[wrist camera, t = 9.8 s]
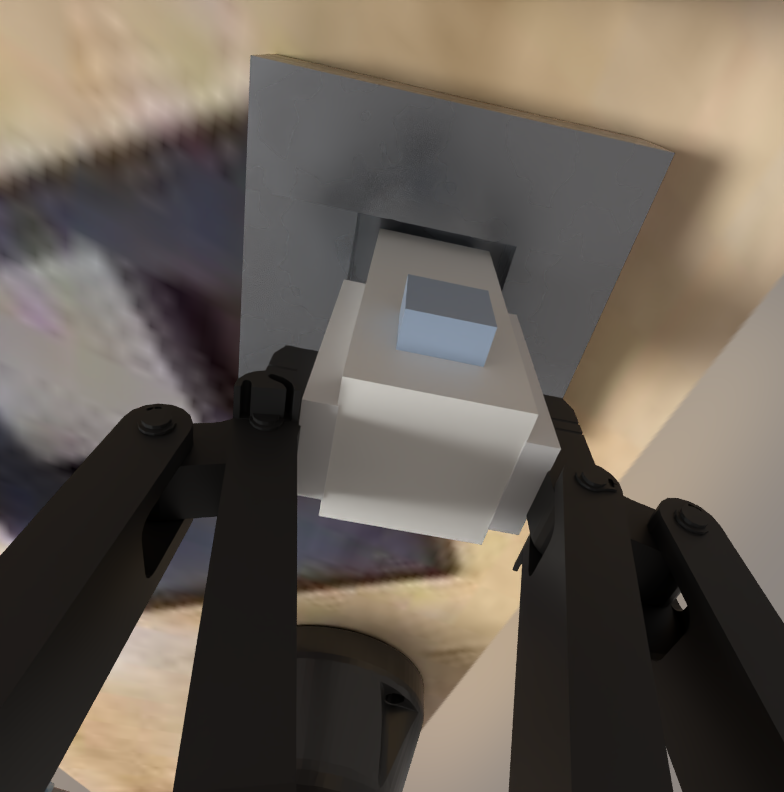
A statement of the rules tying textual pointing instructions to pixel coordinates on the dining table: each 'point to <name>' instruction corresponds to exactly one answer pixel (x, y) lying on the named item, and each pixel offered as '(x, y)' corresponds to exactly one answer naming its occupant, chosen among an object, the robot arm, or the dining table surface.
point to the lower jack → (430, 204)
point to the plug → (428, 395)
